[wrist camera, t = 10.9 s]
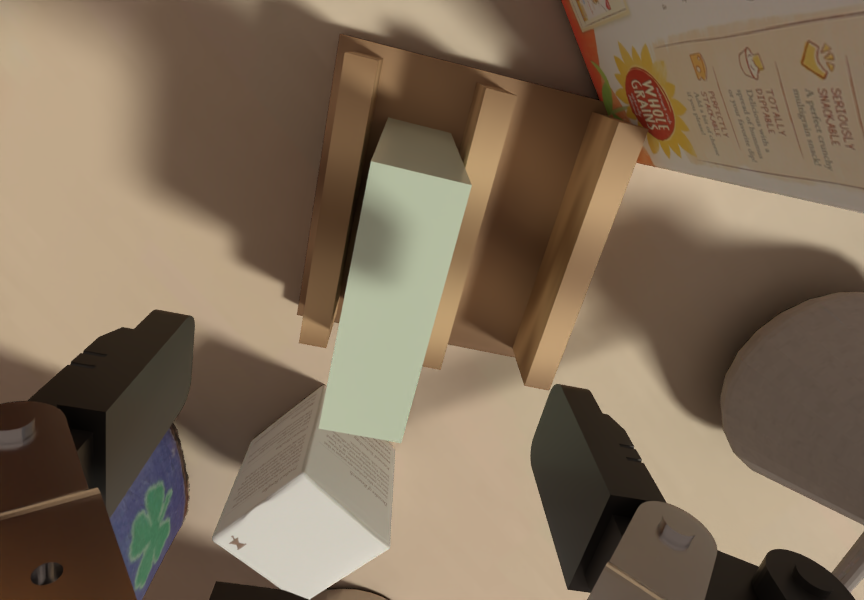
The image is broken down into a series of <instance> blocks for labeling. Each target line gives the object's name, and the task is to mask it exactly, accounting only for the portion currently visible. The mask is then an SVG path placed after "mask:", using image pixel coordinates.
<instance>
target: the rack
mask: <svg viewBox="0 0 864 600" xmlns="http://www.w3.org/2000/svg"><path fill="white" fill-rule="evenodd" d="M388 117H389V118H393V119H397V120H401V121H405V122H409V123H413V124H417V125H421V126H425V127H429V128H433V129H437V130H441V131H445V132H449V133H451V134H452V137H453V139H454V142H455V144H456V147H457V149H458V152H459V154H460V157H461V159H462V162H463V164H464V167H465V169H466V172H467V174H468V177H469V179H470V182H471V184H472V187H471V190H470V194H469V198H468V201H467V205H466V208H465V212H464V216H463V219H462V223H461V227H460V230H459V234H458V238H457V241H456V245H455V249H454V252H453V256H452V260H451V263H450V267H449V270H448V274H447V278H446V281H445V285H444V289H443V292H442V296H441V300H440V303H439V307H438V311H437V314H436V318H435V321H434V325H433V329H432V332H431V336H430V340H429V343H428V347H427V351H426V354H425V358H424V362H423V365H422V366H423V367H428V368H434V369H439V370H440V369H441V366H442V362H443V359H444V355H445V352H446V348H447V344H449V345H454V346H459V347H464V348H469V349H474V350H480V351H485V352H490V353H495V354H500V355H505V356H510V357H515V358H516V361H517V364H518V367H519V370H520V373H521V376H522V379H523V383H524V386H529V387H534V388H539V389H544V390H549V389H550V387H551V384H552V382H553V379H554V376H555V374H556V371H557V368H558V366H559V363H560V361H561V358H562V355H563V353H564V350H565V347H566V345H567V342H568V340H569V337H570V334H571V332H572V329H573V327H574V324H575V321H576V319H577V316H578V313H579V311H580V308H581V306H582V303H583V300H584V298H585V295H586V292H587V290H588V287H589V285H590V282H591V279H592V277H593V274H594V272H595V269H596V266H597V264H598V261H599V258H600V256H601V253H602V251H603V248H604V245H605V243H606V240H607V237H608V235H609V232H610V230H611V227H612V224H613V222H614V219H615V217H616V214H617V211H618V209H619V206H620V203H621V201H622V198H623V196H624V193H625V190H626V188H627V185H628V182H629V180H630V177H631V175H632V172H633V169H634V167H635V164H636V162H637V159H638V156H639V154H640V151H641V148H642V146H643V143H644V141H645V138H646V135H647V133H648V130H649V129H646V128H644V127H641V126H638V125H635V124H632V123H628V122H625V121H622V120H619V119H616V118H613V117H610V116H608V113H607V111H606V108H605V106H604V103H603V101H600V100H596V99H592V98H588V97H584V96H581V95H577V94H573V93H569V92H565V91H561V90H557V89H553V88H549V87H546V86H542V85H538V84H534V83H530V82H526V81H522V80H518V79H515V78H511V77H507V76H503V75H499V74H495V73H491V72H487V71H483V70H480V69H476V68H472V67H468V66H464V65H460V64H456V63H452V62H449V61H445V60H441V59H437V58H433V57H429V56H425V55H421V54H417V53H414V52H410V51H406V50H402V49H398V48H394V47H390V46H386V45H383V44H379V43H375V42H371V41H367V40H363V39H359V38H355V37H351V36H348V35H344V34H340V35H339V42H338V49H337V55H336V62H335V68H334V75H333V82H332V88H331V95H330V101H329V108H328V114H327V121H326V128H325V134H324V141H323V147H322V154H321V160H320V167H319V174H318V180H317V187H316V193H315V200H314V206H313V213H312V220H311V226H310V233H309V239H308V246H307V253H306V259H305V266H304V272H303V279H302V285H301V292H300V299H299V305H298V312H297V315H301V316H303V321H302V327H301V333H300V340H299V343H302V344H307V345H312V346H318V347H323V348H326V347H327V344H328V340H329V337H330V334H331V330H332V327H333V323H334V322H336V323H339V322H340V317H341V312H342V307H343V302H344V296H345V291H346V286H347V281H348V276H349V271H350V266H351V261H352V256H353V251H354V245H355V240H356V235H357V230H358V225H359V220H360V215H361V210H362V205H363V200H364V195H365V189H366V184H367V179H368V174H369V169H370V164H371V160H372V157H373V155H374V152H375V150H376V147H377V145H378V142H379V140H380V137H381V134H382V132H383V129H384V127H385V124H386V122H387V119H388Z"/></svg>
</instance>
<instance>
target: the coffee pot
mask: <svg viewBox="0 0 864 600" xmlns="http://www.w3.org/2000/svg"><path fill="white" fill-rule="evenodd" d="M720 400H721V413H722V425H723V431H724V433H725V435H726V437H727V440H728V442H729V444H730V446H731V448H732V450H733V452H734V453H735V454H736V455H737V456H738V457H739V458H740V459H741V460H742V461H743V462H744V463H745V464H746V465H747V466H748V467H749V468H750V469H751V470H753V471H755V472H757V473H759V474H761V475H763V476H765V477H767V478H769V479H771V480H773V481H775V482H777V483H779V484H781V485H783V486H785V487H787V488H789V489H791V490H793V491H795V492H797V493H799V494H802V495H804V496H806V497H808V498H810V499H812V500H814V501H816V502H818V503H820V504H822V505H824V506H826V507H828V508H830V509H832V510H834V511H836V512H838V513H840V514H842V515H844V516H846V517H848V518H850V519H852V520H854V521H856V522H858V523H860V524H862V525H864V292H837V293H833V294H829V295H825V296H821V297H817V298H813V299H809V300H807V301H805V302H803V303H801V304H799V305H797V306H794V307H792V308H790V309H788V310H786V311H784V312H782V313H780V314H779V315H777V316H776V317H775V318H773V319H772V320H771V321H769V322H768V323H767V324H765V325H764V326H763V327H761V328H760V329H759V330H757V331H756V332H755V333H754V334H753V336H752V337H751V338H750V339H749V340H748V341H747V342H746V343H745V345H744V346H743V347H742V348H741V349H740V350H739V352H738V353H737V355H736V357H735V359H734V360H733V362H732V364H731V366H730V368H729V369H728V371H727V373H726V375H725V379H724V384H723V388H722V392H721V396H720ZM832 574H833V575H834V576H835V577H836V578H837V579H838V580H839V581H840V582H841V583H842V584H843V585H844V586H845V587H846V588H847V590H848V591H849V592H850V593H851V591H852V590H853V589H854V588H855V587H856V586H857V585H858V584H859V582H860V581H861V580H862V579H863V578H864V532H863V533H862V535H861V536H860V537H859V539H858V540H857V541H856V542H855V544H854V545H853V546H852V548H851V549H850V550H849V551H848V553H847V554H846V555H845V557H844V558H843V559H842V560H841V562H840V563H839V564H838V565H837V567H836V568H835V569H834V571H833V572H832Z"/></svg>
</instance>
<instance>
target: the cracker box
mask: <svg viewBox="0 0 864 600" xmlns="http://www.w3.org/2000/svg"><path fill="white" fill-rule="evenodd" d="M561 1H562V4H563V6H564V9H565V11H566V14H567V17H568V19H569V22H570V24H571V27H572V30H573V32H574V35H575V38H576V41H577V43H578V46H579V48H580V51H581V53H582V56H583V59H584V61H585V64H586V66H587V69H588V71H589V74H590V76H591V79H592V82H593V84H594V87H595V89H596V91H597V94H598V97H599V100H600V101H603V103H604V106H605V108H606V111H607V113H608V116H610V117H613V118H616V119H619V120H622V121H625V122H628V123H632V124H635V125H638V126H641V127H644V128H646V129H649V130H648V133H647V135H646V138H645V141H644V143H643V146H642V148H641V151H640V154H639V156H638V159H637V162H636V163H640V164H644V165H649V166H653V167H658V168H663V169H668V170H672V171H676V172H680V173H684V174H689V175H693V176H698V177H703V178H708V179H712V180H716V181H721V182H725V183H729V184H734V185H738V186H742V187H747V188H751V189H756V190H760V191H764V192H769V193H774V194H779V195H784V196H788V197H793V198H797V199H802V200H806V201H810V202H815V203H819V204H824V205H828V206H833V207H837V208H842V209H846V210H850V211H855V212H859V213H864V0H561Z"/></svg>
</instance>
